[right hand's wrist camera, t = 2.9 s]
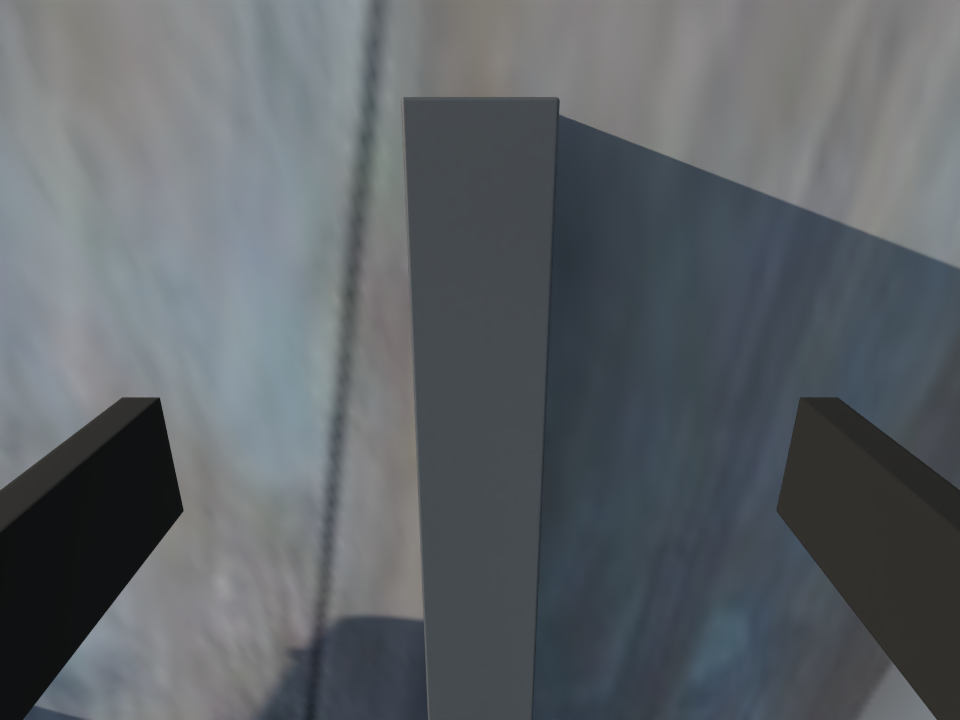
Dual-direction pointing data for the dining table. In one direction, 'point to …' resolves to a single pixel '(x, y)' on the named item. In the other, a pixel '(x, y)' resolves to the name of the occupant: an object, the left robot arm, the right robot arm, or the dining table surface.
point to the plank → (480, 387)
